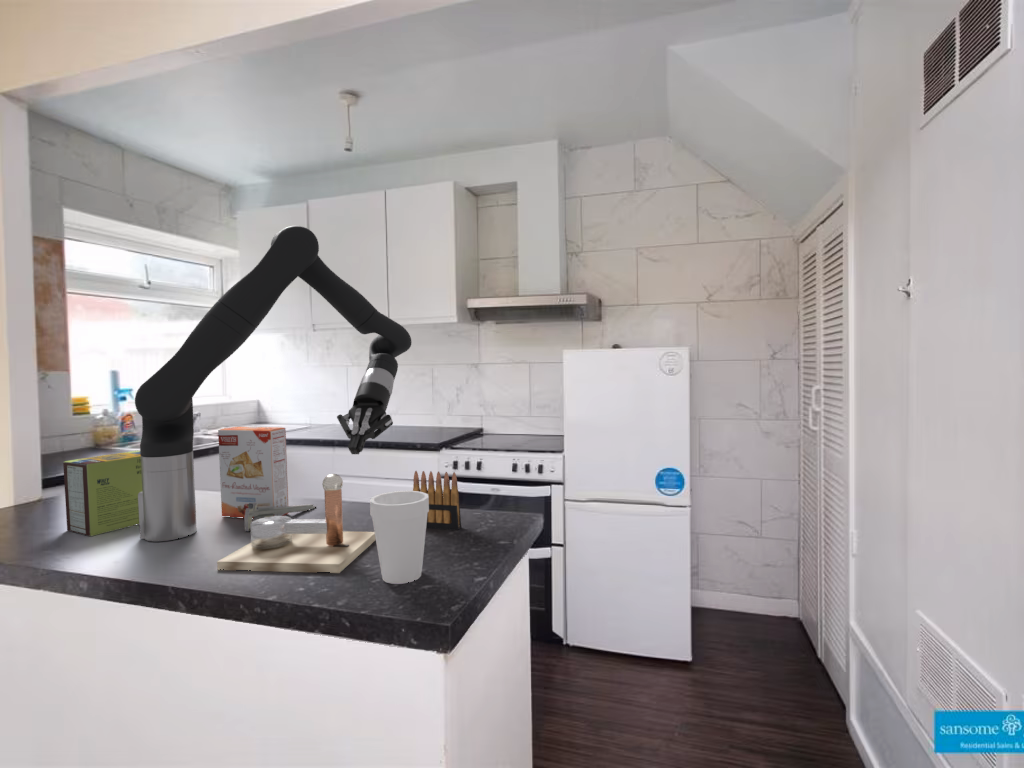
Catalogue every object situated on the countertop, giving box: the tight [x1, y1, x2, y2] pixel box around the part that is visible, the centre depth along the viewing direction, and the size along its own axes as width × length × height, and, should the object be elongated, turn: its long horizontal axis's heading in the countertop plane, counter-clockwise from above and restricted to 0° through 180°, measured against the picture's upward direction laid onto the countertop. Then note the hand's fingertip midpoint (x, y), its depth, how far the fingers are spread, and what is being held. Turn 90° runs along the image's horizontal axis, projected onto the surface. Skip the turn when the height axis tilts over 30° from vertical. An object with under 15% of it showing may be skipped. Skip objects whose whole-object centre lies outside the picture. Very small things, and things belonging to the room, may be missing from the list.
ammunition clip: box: [412, 470, 462, 531], centre depth 113 cm, size 11×2×12 cm, turn 74°
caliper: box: [244, 502, 317, 532], centre depth 121 cm, size 20×1×6 cm, turn 158°
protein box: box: [62, 449, 142, 537], centre depth 120 cm, size 10×15×16 cm
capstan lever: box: [250, 473, 344, 549], centre depth 98 cm, size 17×7×13 cm, turn 87°
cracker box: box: [217, 426, 289, 519], centre depth 124 cm, size 14×6×21 cm, turn 77°
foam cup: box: [369, 490, 429, 585], centre depth 87 cm, size 10×9×13 cm
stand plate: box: [216, 530, 376, 574], centre depth 98 cm, size 22×17×2 cm
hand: (354, 452), depth 112 cm, fingers closed
